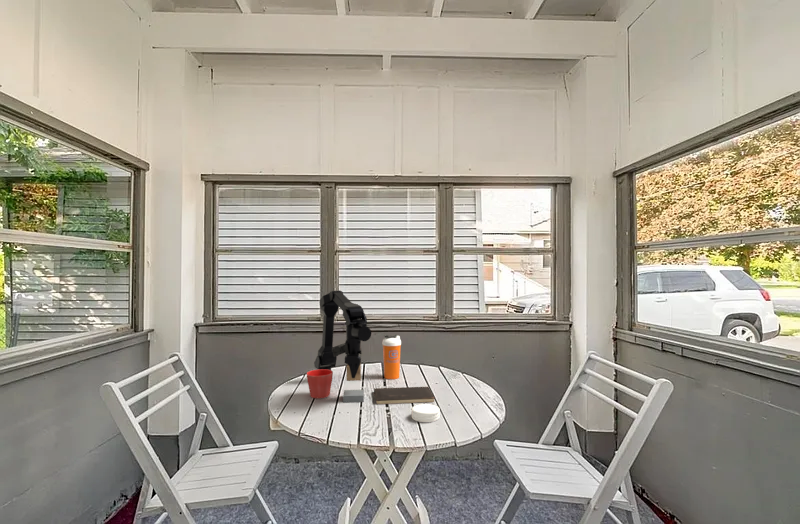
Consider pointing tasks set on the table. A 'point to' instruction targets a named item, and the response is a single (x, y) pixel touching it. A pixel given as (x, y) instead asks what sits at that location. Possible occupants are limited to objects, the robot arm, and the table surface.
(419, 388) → the hardcover book
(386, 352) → the shaker bottle
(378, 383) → the table surface
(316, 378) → the flower pot
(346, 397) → the grey box
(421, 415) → the coaster
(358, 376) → the tan block
